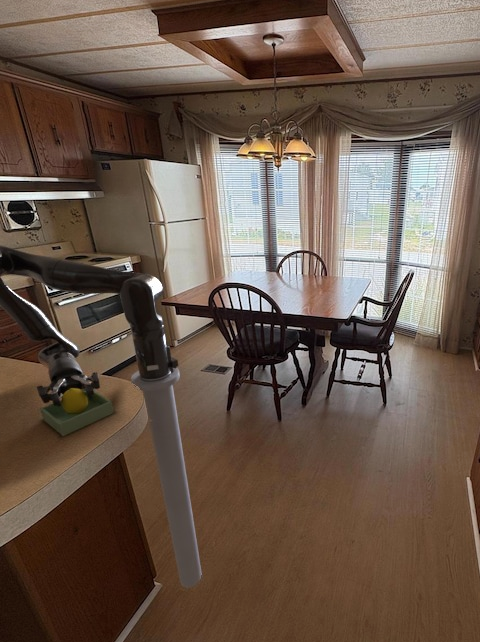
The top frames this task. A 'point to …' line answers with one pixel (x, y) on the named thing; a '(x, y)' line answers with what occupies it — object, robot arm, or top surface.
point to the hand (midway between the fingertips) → (74, 398)
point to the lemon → (74, 401)
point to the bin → (73, 422)
